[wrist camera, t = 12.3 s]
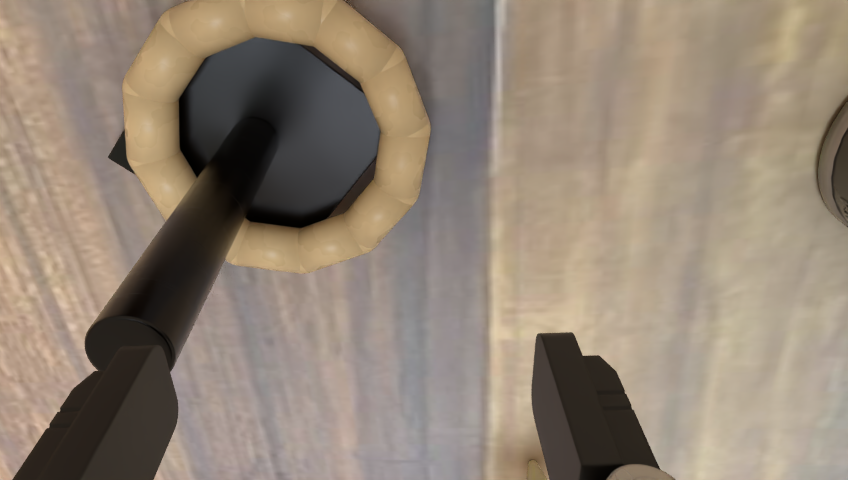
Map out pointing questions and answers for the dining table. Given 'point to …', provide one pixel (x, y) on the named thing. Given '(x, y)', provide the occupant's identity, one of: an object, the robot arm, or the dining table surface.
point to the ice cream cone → (535, 471)
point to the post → (240, 180)
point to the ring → (301, 24)
